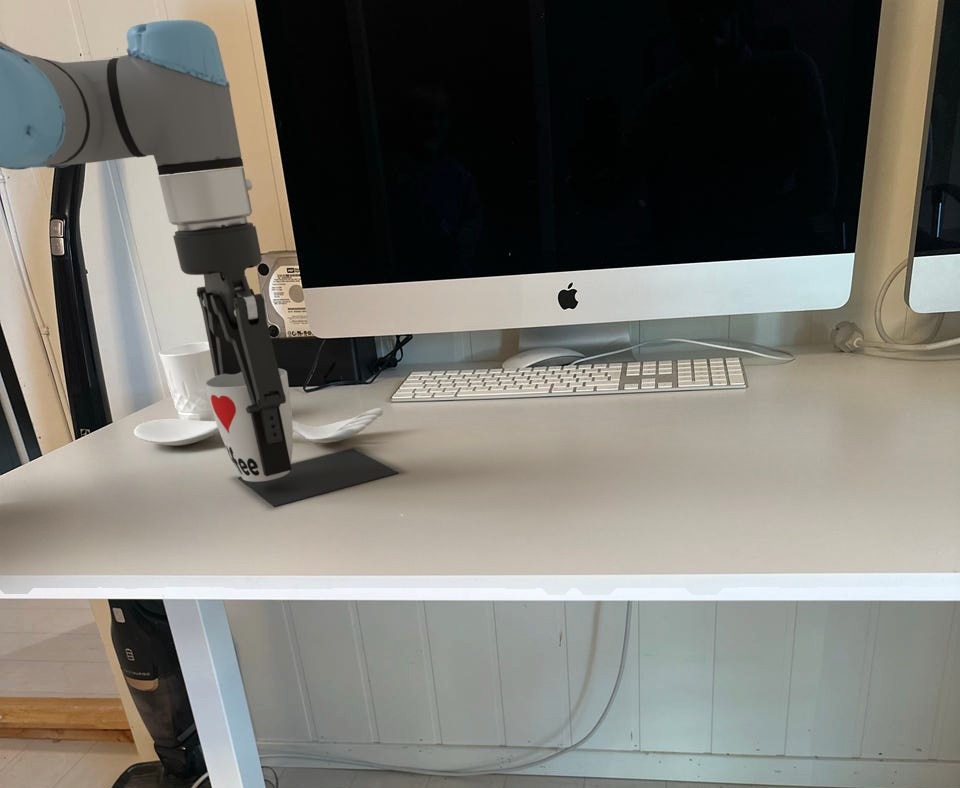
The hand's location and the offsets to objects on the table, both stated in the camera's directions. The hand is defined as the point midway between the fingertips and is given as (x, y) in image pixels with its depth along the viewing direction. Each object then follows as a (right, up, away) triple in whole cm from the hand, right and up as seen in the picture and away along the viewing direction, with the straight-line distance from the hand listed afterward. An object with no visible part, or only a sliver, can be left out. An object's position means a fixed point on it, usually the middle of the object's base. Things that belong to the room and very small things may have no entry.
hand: (264, 462), depth 95 cm
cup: (0, -1, +1) cm, 1 cm away
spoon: (-5, +6, +17) cm, 19 cm away
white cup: (-14, +10, +27) cm, 32 cm away
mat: (+5, -1, +4) cm, 6 cm away
